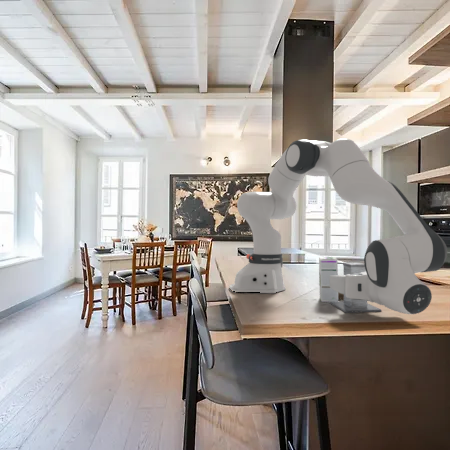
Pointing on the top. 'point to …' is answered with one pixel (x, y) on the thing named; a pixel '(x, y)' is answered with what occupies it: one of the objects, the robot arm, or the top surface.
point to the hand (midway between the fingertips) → (352, 278)
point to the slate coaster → (349, 310)
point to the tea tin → (353, 269)
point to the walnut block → (340, 296)
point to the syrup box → (327, 278)
